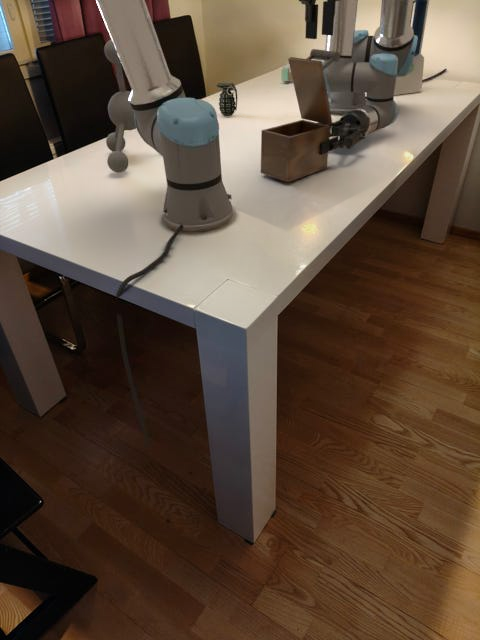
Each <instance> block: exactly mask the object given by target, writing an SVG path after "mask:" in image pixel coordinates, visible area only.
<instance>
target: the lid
mask: <svg viewBox="0 0 480 640" xmlns="http://www.w3.org/2000/svg"><path fill="white" fill-rule="evenodd" d="M339 58H340V53H339V52H335V51H327V50H325V49H316V48H312V49H311V50H310V53H309V56H307V57H306V58H302V57H296V56H295V57H294V56H290V57H289V58H288V59H287V61H288V62H289V65H290V69H291V74H292V78H293V82H292V83H293V87H294V91H295V92H294V93H295V96H296V100H297V104H298V110H299V114H300V118H301V120H306V121H310V122H314V123H318V122H319V123H324V124H328V125H330V124H331V123H333V119H332V114H331V113H330V107H329V101H328V95H327V89H326V83H325V78H324V72H323V70H324V69H325V68H327V67H328V66H329V65H330V64H331V63H332V62H338V60H339ZM311 59H316V60H311ZM317 60H324V61H327V62H326V63H325V64H324V65H323V66H322V61H317Z"/></svg>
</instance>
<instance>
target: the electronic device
mask: <svg viewBox="0 0 480 640" xmlns="http://www.w3.org/2000/svg"><path fill="white" fill-rule="evenodd" d="M414 4H415V5H414ZM429 5H430V0H413V2H412V10H411V17H410V26H411V27H412V28H413V31H414V34H413V35H416V36H417V37H418V40H417V46H416V50H415V54H414V58H413V62H412V65H411V68H410V71H409V73H408V74H407V75H406V76H403V77H396V83H395V90H394V96H398V95H405V94H413V93H414V94H415V93H419V92H420V91H421V90H422V88H423V82H422V80H423V79H424V77H423V76H424V65H425V57H424V55H423V54H422V49H423V42H424V36H425V29H426V24H427V18H428V17H427V16H428V11H429ZM412 18H413V19H412Z"/></svg>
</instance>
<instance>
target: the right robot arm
mask: <svg viewBox="0 0 480 640" xmlns="http://www.w3.org/2000/svg"><path fill="white" fill-rule="evenodd" d="M412 2H413V0H381V5H380V20H379V26H378V27H377V28H376V29H375V31H374V33H373V35H370V34H369V31H368V30H367V29H357V30H356V24H357V13H358V6H359V5H358V4H359V0H339V1H336V5H335V16H334V25H333V35H331V36H330V35H325V36H326V37H325V49H324V50H327V51H335V52H339V53H340V58H339V60H338V62H332V63H331V64H330V65H329V66H328V67H327V68H325V69H324V70H323V72H324V78H325V83H326V89H327V95H328V101H329V107H330V113H331V115H339V116H341V117H340V119H339V120H335V121H334V122H333V121H332V123H331V124H330V125H328V124H324V123H319V122H317V123H319V124H323V125H327V126H331V130H330V139H329V140H327V141H324V142H322V143H320V150H319V154H320V155H322V154H325V153H327V152H328V153H329V152H332V151H334V150H337V149H343V148H344V147H345V149H346V150H347V149H348V150H350V149H351V148H352V147H354V146H355V145H357V144H358V143H360V141H363V140H365V139H366V136H367V135H369V134H372V133H375V132H377V131H379V130H383V129H385V128H387V127H389V126H390V125H392V124H393V123H394V122H395V121H396V120H397V118H398V116H399V112H400V111H399V108H398V103H397V102H396V101H395V100H394V99H395V98H394V96H395V95H394V90H395V83H396V77H403V76H406V75H407V74H408V73H409V71H410V68H411V65H412V62H413V58H414V54H415V50H416V46H417V40H418V37H417V36H416V35H413V34H414V31H413V28H412V25H411V26H410V17H411V10H412ZM326 62H327V61H324V62H322V66H323V65H324V64H325V63H326ZM446 71H448V70H447V68H444V69H443V70H441V71H440V72H438V73H436V74H433V75H432V76H429V77H426V78H423V79H422V83H423V82H427V81H429V80H432V79H434V78H437V77H438V76H440V75H442V74H443V73H445V72H446Z"/></svg>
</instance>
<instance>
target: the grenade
mask: <svg viewBox="0 0 480 640" xmlns="http://www.w3.org/2000/svg"><path fill="white" fill-rule="evenodd" d="M215 87H217V88H219V89H221V93H219V97H218V101H219V102H218V106H219V108H218V109H219V112H220V114H221V115H222V116H224V117H231V116H233V115H234V113H235V112H236V111H237V108H238V89H237V87H236V85H235V84H234V83H233V82H218V83H217V84H216V86H215ZM232 91H233V92H232ZM234 94H235V96H234Z"/></svg>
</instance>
